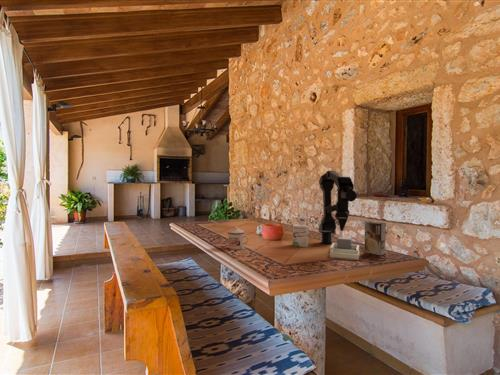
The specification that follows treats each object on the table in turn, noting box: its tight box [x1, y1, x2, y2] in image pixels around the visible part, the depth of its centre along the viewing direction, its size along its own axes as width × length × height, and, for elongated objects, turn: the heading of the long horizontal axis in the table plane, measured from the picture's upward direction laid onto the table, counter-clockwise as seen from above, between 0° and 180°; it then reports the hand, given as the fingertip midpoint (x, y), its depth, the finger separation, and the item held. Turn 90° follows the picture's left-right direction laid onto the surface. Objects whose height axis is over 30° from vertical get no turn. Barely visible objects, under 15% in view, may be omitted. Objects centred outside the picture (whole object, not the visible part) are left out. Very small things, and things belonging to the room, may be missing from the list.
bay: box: [329, 242, 360, 252], centre depth 171 cm, size 14×14×2 cm
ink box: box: [292, 223, 309, 248], centre depth 183 cm, size 8×5×12 cm, turn 76°
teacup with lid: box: [227, 226, 250, 250], centre depth 175 cm, size 12×9×12 cm
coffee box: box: [364, 221, 387, 256], centre depth 167 cm, size 9×6×16 cm
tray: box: [329, 248, 361, 261], centre depth 159 cm, size 10×14×2 cm
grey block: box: [336, 236, 353, 250], centre depth 169 cm, size 5×7×7 cm
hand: (342, 229), depth 168 cm, fingers open, 9 cm apart
